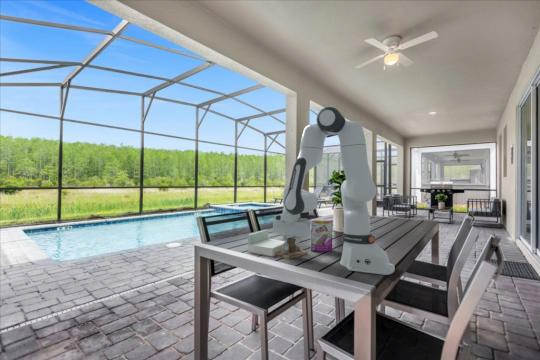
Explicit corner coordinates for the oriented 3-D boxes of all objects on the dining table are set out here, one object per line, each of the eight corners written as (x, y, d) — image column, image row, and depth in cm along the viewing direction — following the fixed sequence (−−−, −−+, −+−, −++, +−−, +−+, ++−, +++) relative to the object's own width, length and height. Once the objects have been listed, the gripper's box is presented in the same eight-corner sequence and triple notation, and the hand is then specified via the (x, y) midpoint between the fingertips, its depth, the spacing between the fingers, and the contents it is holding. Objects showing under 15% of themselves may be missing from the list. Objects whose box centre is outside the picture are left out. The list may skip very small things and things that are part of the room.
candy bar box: (311, 251, 139) (311, 220, 139) (310, 248, 144) (310, 218, 144) (332, 252, 138) (332, 220, 138) (331, 249, 143) (331, 219, 143)
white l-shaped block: (288, 248, 143) (288, 232, 143) (272, 256, 129) (272, 238, 129) (265, 245, 152) (265, 229, 152) (247, 251, 137) (248, 234, 137)
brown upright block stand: (307, 254, 135) (307, 237, 135) (288, 260, 125) (288, 242, 125) (293, 250, 141) (293, 235, 141) (275, 256, 131) (275, 239, 131)
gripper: (313, 217, 130) (312, 245, 130) (277, 214, 141) (277, 240, 141) (307, 219, 125) (307, 248, 125) (271, 216, 136) (271, 242, 136)
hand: (291, 244), depth 133 cm, fingers open, 4 cm apart
